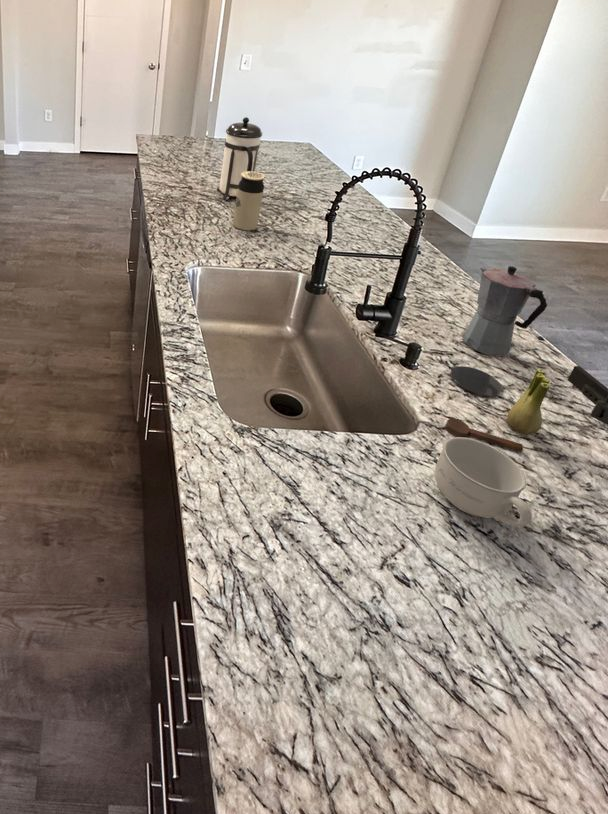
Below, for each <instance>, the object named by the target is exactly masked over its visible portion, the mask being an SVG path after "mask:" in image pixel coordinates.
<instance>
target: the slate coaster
mask: <svg viewBox="0 0 608 814" xmlns="http://www.w3.org/2000/svg"><path fill="white" fill-rule="evenodd" d="M449 376H450V379H451V381H452V382H453V383H454V384H455V385H456V386H458V388H460V389H462V390H463V391H465V392H467V393H470V394H471V395H474V396H477V397H481V398H489V399H492V398H497V397H500V395H501V394H502V392H503V386H502V384H501V383H500V382H499V381H498V380H497V379H496V378H495V377H493V376H492V375H491V374H489V373H487V372H485V371H483V370H481V369H478V368H475V367H472V366H464V365H461V366H460V365H458V366H455V367H453V368H451V371H450V373H449Z"/></svg>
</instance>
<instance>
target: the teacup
mask: <svg viewBox="0 0 608 814" xmlns="http://www.w3.org/2000/svg"><path fill="white" fill-rule="evenodd" d="M434 479H435V483H436V486H437V487H438V489H439V490H440V492H441V494H442V495H444V497H445V498H446V499H447V501H449V502H450V504H452V505H453V506H454V507H456V508H457V509H458V510H460V511H462V512H464V513H466V514H468V515H471V516H475V517H480V518H486V519H494V520H495V521H497V522H503V523H505V524H508V525H510V526H513V527H517V528H522V527H523V528H524V527H526V526H528V525H530V524H531V522H532V518H533V515H532V511H531V509H530V507H529V505H528V504H527V503H526V501H524V500H523V499H521V498H519V496H520V494H521V492H523V490H524V489H525V488H526V486H527V480H526V479H527V478H526V476H525V474H524V472H523V470H522V469H521V468H520V466H519V465H518V464H517V463H516V462H515V461H514V460H513V459H512V458H511V457H509V456H508V455H507V454H505V453H504V452H502V451H500V450H499V449H497V448H496V447H494V446H492V445H490V444H488V443H487V442H484V441H482V440H479V439H475V438H471V437H470V438H469V437H466V438H463V437H456V436H454V437H451V438H449V439H447V440H445V442H444V443H443V446H442V449H441V452H440V454H439V457H438V459H437V462H436V465H435V467H434ZM514 506H515V507H516V508H517V509H518V511H519V518H518V519H517V518H514V517H512V516H510V515H508V514H507V513H508V512H510V510H511V508H512V507H514Z"/></svg>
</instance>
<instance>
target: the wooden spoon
mask: <svg viewBox="0 0 608 814" xmlns="http://www.w3.org/2000/svg"><path fill="white" fill-rule="evenodd" d="M444 428H445V429H446V432H448V433H449V434H450V435H452V436H454V437H463V438H469V437H470V438H471V439H475V440H478V441H481V442H484V443H487V444H488V443H489V444H492V445H495V446H497V447H502V448H504V449H508V450H511V451H513V452H514V451H515V452H516V453H520V454H521V453H522V452H523V450H524V447H523V443H518V442H516V441H513V440H509V439H507V438H503V437H500V436H497V435H494V434H490V433H487V432H484V431H481V430H477V429H474V428H471V427H470V426H469V425H468V424H467V423H466V422H464V421H462V420H460V419H458V418H448V419H447V421H446V423H445V426H444Z"/></svg>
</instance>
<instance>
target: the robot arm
mask: <svg viewBox="0 0 608 814" xmlns="http://www.w3.org/2000/svg"><path fill="white" fill-rule="evenodd" d="M567 382H569V383H570V384H571V385H573V386H574V387H575V388H576V389H578V391H579V392H581V394H582V396H584V397H585V398H586V399H588V400H589V402H591V403H593V404H594V407H593V409H592V410H591V413H590V416H591V417H592V418H593V419H596V420H597V421H599V422H600V423H603V424H605V425H606V426H608V386H606V385H605V384H603V383H602V382H601V381H599V380H598V379H597V378H595V377H594V376H593V375H592V374H591V373H589V372H588V371H587V370H585V369H584V368H583V367H581V366H580V365H574V366H573V368H572V370H571V372H570V374H569V375H568V378H567Z"/></svg>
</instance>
